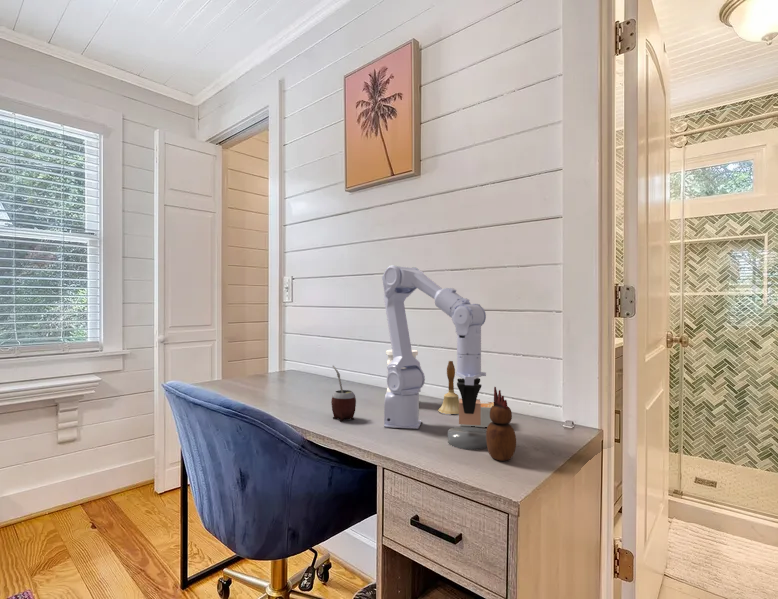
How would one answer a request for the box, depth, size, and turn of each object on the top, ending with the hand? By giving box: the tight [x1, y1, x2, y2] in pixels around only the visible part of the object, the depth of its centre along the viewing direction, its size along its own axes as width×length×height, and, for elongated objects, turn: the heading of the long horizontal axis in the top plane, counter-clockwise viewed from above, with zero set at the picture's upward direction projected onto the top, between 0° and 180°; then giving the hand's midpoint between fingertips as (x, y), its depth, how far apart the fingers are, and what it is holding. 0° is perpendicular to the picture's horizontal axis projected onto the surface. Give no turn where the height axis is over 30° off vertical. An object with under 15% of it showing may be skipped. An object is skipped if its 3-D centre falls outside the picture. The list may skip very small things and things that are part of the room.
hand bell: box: [437, 360, 460, 415], centre depth 134 cm, size 8×8×16 cm
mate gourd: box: [330, 365, 357, 423], centre depth 125 cm, size 8×8×15 cm
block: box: [458, 398, 481, 425], centre depth 103 cm, size 5×5×5 cm
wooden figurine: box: [486, 386, 517, 462], centre depth 92 cm, size 7×6×15 cm
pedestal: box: [447, 426, 488, 450], centre depth 103 cm, size 10×10×2 cm
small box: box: [459, 401, 494, 428], centre depth 120 cm, size 8×6×10 cm
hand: (468, 410), depth 103 cm, fingers closed on block, 5 cm apart
